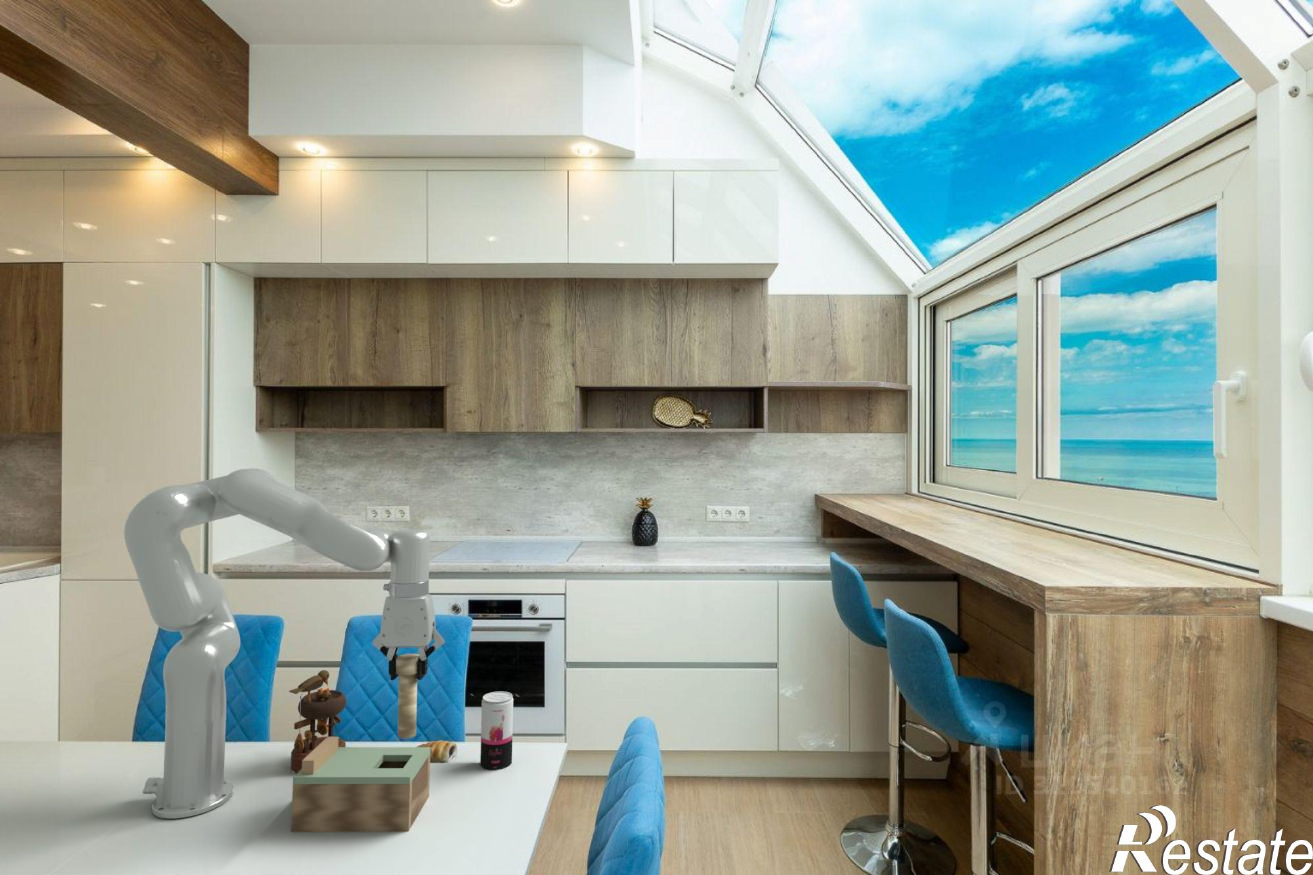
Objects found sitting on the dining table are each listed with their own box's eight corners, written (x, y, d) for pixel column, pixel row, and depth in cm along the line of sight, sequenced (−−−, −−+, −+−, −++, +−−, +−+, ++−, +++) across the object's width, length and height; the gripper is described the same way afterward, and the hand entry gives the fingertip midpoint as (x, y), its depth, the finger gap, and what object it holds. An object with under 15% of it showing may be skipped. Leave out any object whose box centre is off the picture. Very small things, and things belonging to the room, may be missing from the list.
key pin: (391, 740, 136) (392, 660, 137) (399, 730, 141) (400, 653, 142) (415, 739, 137) (416, 660, 137) (422, 730, 141) (423, 653, 142)
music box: (320, 780, 136) (316, 680, 137) (273, 779, 138) (269, 680, 139) (366, 748, 151) (362, 658, 152) (323, 747, 153) (319, 659, 154)
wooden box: (291, 837, 116) (292, 784, 116) (322, 801, 128) (324, 753, 128) (408, 836, 117) (409, 784, 117) (429, 801, 129) (430, 753, 129)
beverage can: (500, 777, 139) (502, 703, 139) (473, 771, 141) (475, 699, 142) (517, 763, 145) (519, 693, 146) (491, 758, 147) (493, 689, 148)
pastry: (405, 763, 145) (406, 745, 145) (420, 750, 151) (421, 733, 151) (446, 767, 143) (447, 749, 144) (460, 753, 150) (460, 736, 150)
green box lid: (292, 784, 116) (293, 763, 116) (324, 753, 128) (324, 734, 128) (409, 783, 117) (410, 763, 117) (430, 753, 129) (430, 734, 129)
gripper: (360, 593, 136) (359, 684, 135) (446, 593, 136) (444, 684, 136) (374, 585, 143) (373, 672, 143) (455, 586, 144) (454, 672, 143)
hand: (408, 677), depth 139 cm, fingers closed on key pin, 4 cm apart
